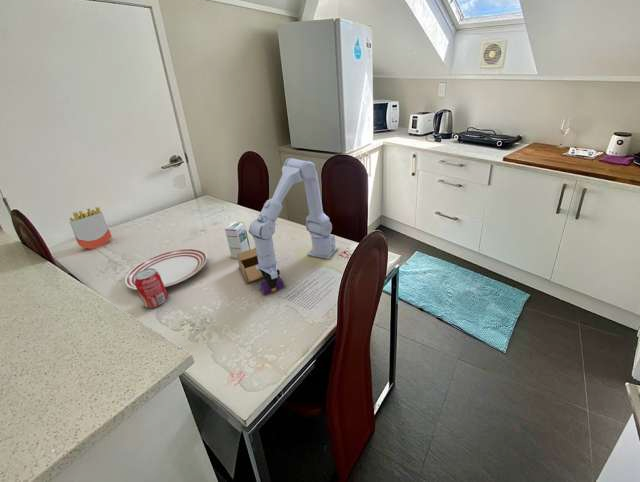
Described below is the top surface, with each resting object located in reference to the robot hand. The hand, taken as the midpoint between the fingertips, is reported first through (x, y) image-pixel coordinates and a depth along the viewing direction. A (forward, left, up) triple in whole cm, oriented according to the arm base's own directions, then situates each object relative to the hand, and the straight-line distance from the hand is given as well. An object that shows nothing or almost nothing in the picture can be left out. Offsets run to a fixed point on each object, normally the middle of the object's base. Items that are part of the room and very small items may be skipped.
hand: (271, 284), depth 112 cm
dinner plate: (+44, +4, -2) cm, 44 cm away
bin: (+12, -7, -2) cm, 14 cm away
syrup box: (+26, -15, -2) cm, 30 cm away
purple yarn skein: (0, 0, -2) cm, 2 cm away
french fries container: (+95, -2, -2) cm, 95 cm away
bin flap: (+5, -2, +4) cm, 7 cm away
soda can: (+34, +18, -2) cm, 38 cm away
